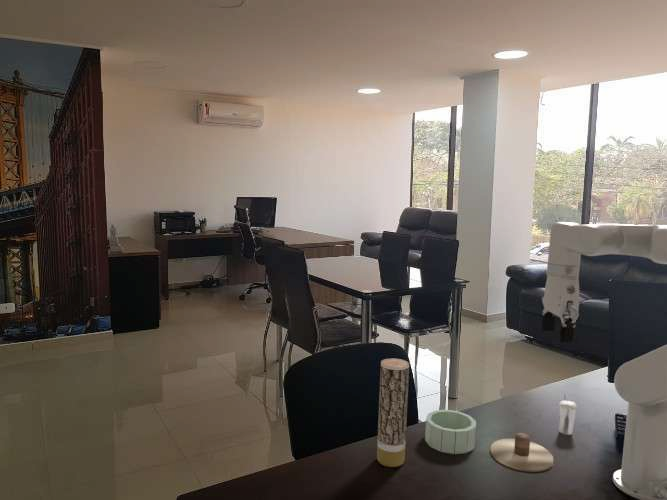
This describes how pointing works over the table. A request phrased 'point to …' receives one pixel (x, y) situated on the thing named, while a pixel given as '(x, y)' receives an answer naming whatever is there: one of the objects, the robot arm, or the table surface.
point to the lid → (522, 454)
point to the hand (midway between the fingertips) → (556, 336)
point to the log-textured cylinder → (392, 412)
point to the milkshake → (566, 416)
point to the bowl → (450, 431)
